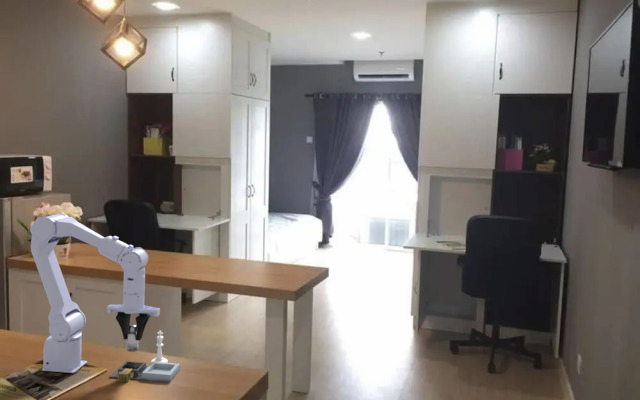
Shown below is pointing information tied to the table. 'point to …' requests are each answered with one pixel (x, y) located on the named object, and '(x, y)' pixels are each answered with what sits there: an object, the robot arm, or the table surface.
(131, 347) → the stepped metal cylinder
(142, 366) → the socket
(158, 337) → the chess piece
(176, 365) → the tray
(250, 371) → the table surface
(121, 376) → the tan stepped block
